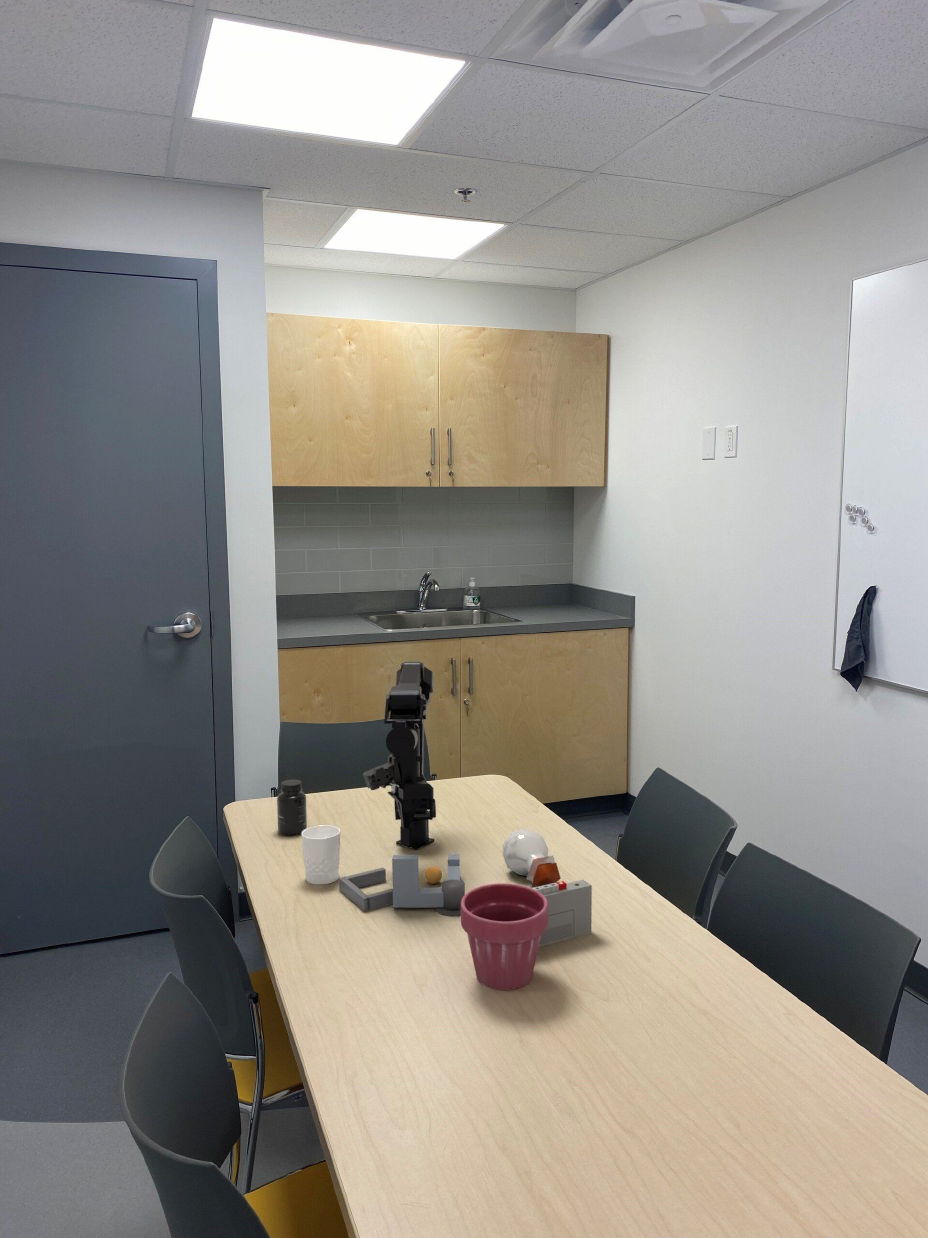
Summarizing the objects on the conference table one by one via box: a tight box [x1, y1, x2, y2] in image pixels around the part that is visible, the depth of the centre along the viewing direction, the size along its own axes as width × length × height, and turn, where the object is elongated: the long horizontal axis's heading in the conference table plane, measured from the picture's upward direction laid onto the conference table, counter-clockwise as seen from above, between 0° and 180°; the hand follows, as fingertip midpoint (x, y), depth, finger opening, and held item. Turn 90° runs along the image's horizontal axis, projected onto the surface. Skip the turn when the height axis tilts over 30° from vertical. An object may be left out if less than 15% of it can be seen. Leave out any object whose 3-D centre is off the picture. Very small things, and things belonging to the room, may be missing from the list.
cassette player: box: [531, 879, 593, 947], centre depth 156 cm, size 16×3×10 cm, turn 116°
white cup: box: [301, 824, 341, 886], centre depth 183 cm, size 8×8×10 cm
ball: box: [424, 865, 443, 885], centre depth 180 cm, size 4×4×4 cm
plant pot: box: [460, 882, 548, 991], centre depth 144 cm, size 14×14×13 cm
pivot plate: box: [434, 907, 461, 917], centre depth 169 cm, size 7×7×1 cm
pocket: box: [338, 867, 393, 912], centre depth 175 cm, size 10×11×2 cm
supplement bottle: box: [276, 779, 308, 837], centre depth 210 cm, size 7×7×12 cm
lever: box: [391, 853, 466, 909], centre depth 175 cm, size 17×14×10 cm
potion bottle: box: [502, 828, 561, 887], centre depth 182 cm, size 9×10×15 cm
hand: (405, 828), depth 180 cm, fingers closed
